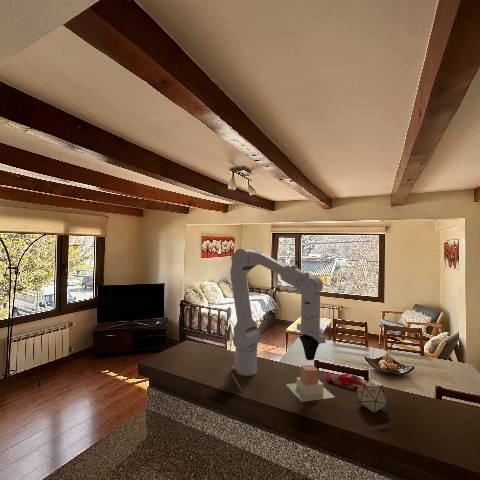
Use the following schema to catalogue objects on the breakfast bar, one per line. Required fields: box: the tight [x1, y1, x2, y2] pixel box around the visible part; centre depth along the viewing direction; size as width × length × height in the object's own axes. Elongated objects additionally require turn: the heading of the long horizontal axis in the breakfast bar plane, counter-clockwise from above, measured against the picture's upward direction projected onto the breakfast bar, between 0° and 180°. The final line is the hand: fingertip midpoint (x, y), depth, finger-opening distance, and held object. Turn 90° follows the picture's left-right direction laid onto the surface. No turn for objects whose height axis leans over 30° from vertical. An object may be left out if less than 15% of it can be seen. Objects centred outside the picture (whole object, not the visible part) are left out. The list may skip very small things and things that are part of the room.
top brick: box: [299, 364, 319, 384], centre depth 93 cm, size 4×4×4 cm
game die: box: [353, 376, 391, 414], centre depth 83 cm, size 9×8×10 cm
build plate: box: [285, 382, 336, 403], centre depth 93 cm, size 11×11×1 cm
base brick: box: [295, 376, 324, 396], centre depth 93 cm, size 6×6×3 cm
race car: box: [325, 373, 368, 390], centre depth 98 cm, size 13×5×4 cm, turn 57°
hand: (309, 359), depth 93 cm, fingers closed
